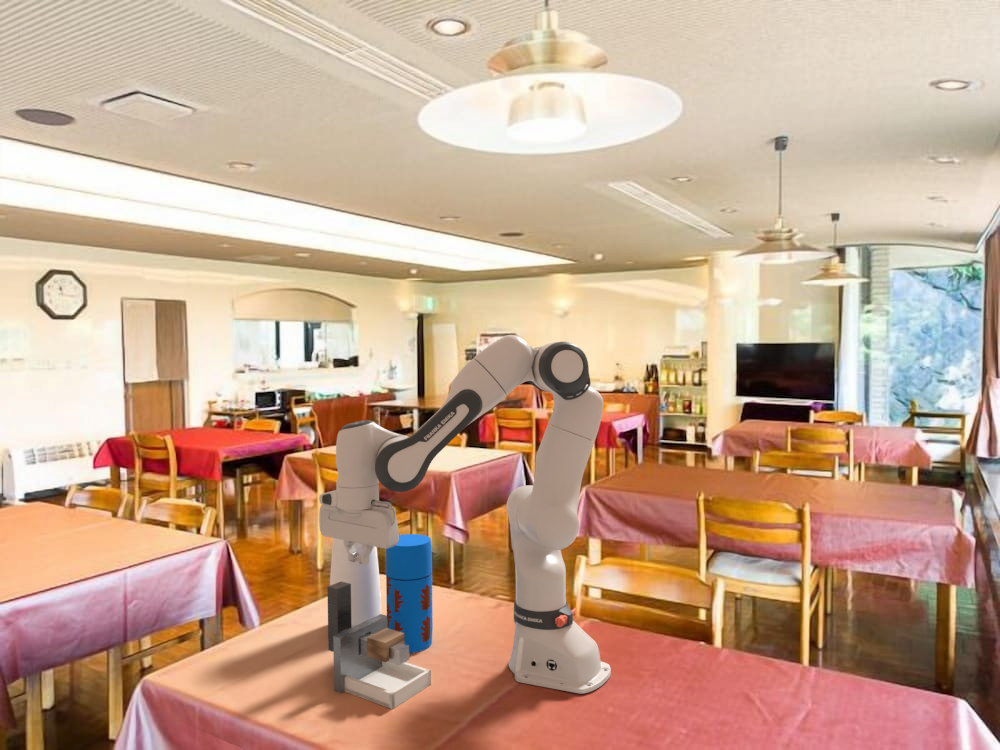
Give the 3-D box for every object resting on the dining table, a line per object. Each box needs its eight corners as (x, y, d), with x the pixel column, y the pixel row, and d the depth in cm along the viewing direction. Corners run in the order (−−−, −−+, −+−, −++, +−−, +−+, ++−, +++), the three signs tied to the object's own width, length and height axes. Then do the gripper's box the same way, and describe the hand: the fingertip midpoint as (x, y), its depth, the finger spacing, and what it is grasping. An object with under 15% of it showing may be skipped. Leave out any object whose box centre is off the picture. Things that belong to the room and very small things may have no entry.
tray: (430, 684, 148) (430, 670, 148) (392, 709, 138) (391, 694, 138) (384, 668, 155) (384, 655, 155) (344, 691, 145) (344, 677, 145)
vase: (364, 613, 187) (362, 508, 186) (391, 627, 177) (390, 517, 176) (319, 626, 178) (317, 517, 177) (346, 642, 169) (344, 526, 167)
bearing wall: (388, 667, 156) (387, 615, 155) (341, 693, 144) (340, 638, 144) (381, 664, 157) (380, 614, 156) (334, 690, 145) (333, 636, 145)
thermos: (427, 631, 175) (426, 532, 174) (437, 649, 165) (436, 543, 163) (383, 637, 171) (382, 536, 170) (390, 656, 161) (389, 548, 160)
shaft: (410, 665, 145) (410, 599, 145) (397, 673, 142) (397, 605, 141) (342, 643, 156) (341, 581, 156) (328, 650, 153) (327, 586, 152)
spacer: (404, 652, 147) (404, 633, 147) (385, 662, 142) (385, 643, 142) (386, 646, 150) (386, 627, 150) (367, 656, 145) (367, 637, 145)
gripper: (405, 500, 146) (405, 566, 146) (335, 489, 157) (336, 551, 158) (383, 506, 141) (384, 574, 141) (313, 494, 152) (314, 558, 153)
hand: (358, 562), depth 150 cm, fingers closed
